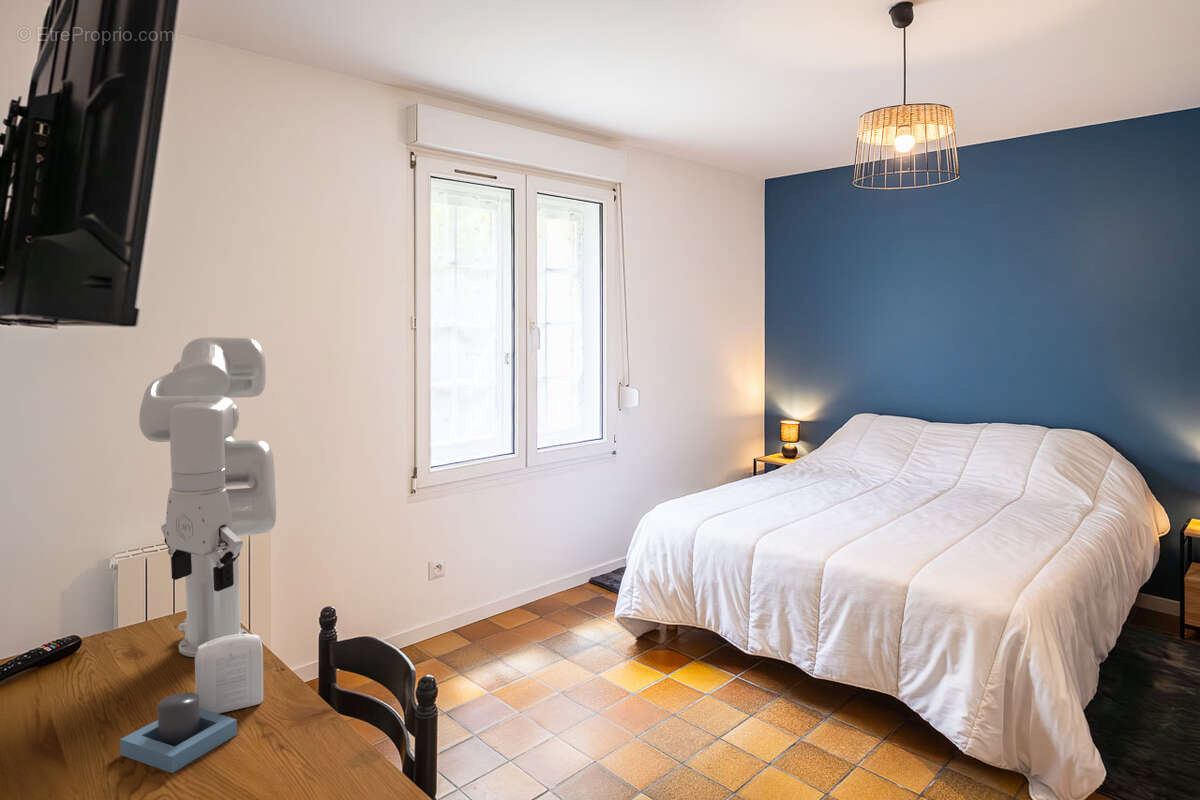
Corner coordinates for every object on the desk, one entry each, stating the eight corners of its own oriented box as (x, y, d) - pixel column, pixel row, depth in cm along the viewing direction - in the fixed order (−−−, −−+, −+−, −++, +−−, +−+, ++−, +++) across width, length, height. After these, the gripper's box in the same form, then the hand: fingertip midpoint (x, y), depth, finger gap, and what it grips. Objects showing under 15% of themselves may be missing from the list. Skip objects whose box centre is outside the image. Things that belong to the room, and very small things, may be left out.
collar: (120, 755, 108) (120, 739, 107) (187, 719, 118) (187, 704, 117) (172, 773, 103) (171, 756, 103) (237, 734, 114) (236, 719, 113)
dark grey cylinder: (150, 750, 109) (148, 705, 108) (183, 731, 114) (182, 689, 113) (176, 758, 107) (174, 713, 106) (208, 739, 112) (207, 696, 111)
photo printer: (261, 693, 126) (260, 625, 125) (265, 704, 123) (264, 634, 122) (194, 709, 121) (192, 638, 120) (197, 721, 117) (194, 648, 116)
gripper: (139, 477, 115) (144, 580, 117) (216, 493, 108) (220, 601, 110) (183, 468, 122) (187, 565, 124) (258, 482, 115) (260, 584, 117)
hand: (202, 582), depth 117 cm, fingers open, 9 cm apart
